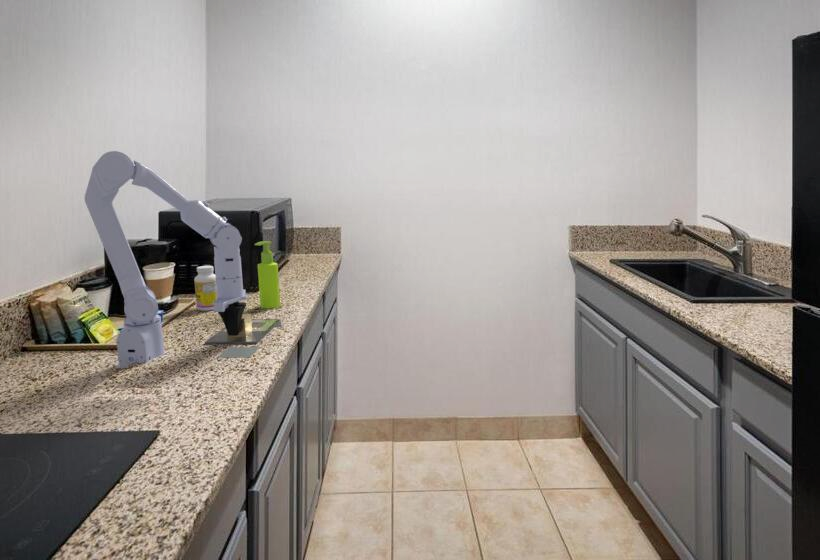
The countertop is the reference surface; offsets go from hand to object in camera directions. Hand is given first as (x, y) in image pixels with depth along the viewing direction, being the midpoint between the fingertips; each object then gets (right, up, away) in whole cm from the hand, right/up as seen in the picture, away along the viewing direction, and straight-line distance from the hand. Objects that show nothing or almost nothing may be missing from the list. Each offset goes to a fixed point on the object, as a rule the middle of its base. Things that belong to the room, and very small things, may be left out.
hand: (233, 334), depth 126 cm
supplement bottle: (-20, +4, +40) cm, 45 cm away
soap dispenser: (-2, +4, +41) cm, 41 cm away
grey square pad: (+4, -4, -7) cm, 9 cm away
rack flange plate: (0, -2, +8) cm, 9 cm away
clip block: (0, 0, +4) cm, 4 cm away
